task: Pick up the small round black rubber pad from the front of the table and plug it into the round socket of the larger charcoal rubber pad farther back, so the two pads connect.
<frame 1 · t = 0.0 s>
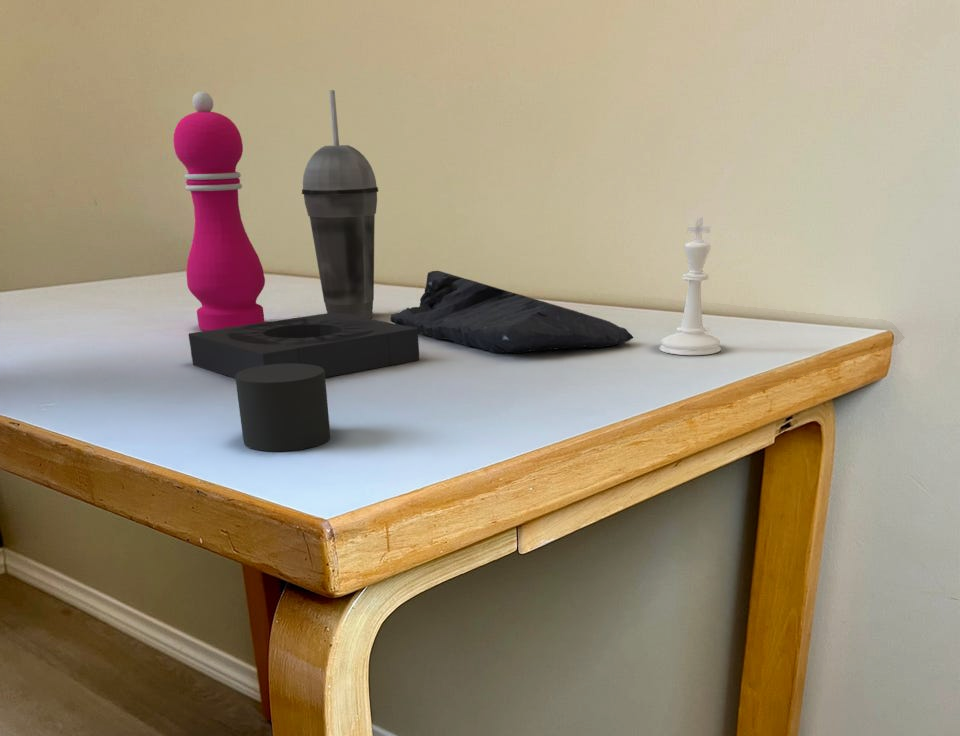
base pad: (306, 362, 81), on the table
connector pad: (287, 439, 61), on the table
beverage cup: (350, 319, 101), on the table
black fabric pouch: (505, 337, 90), on the table
chess piece: (689, 351, 83), on the table
pepper mill: (232, 329, 97), on the table
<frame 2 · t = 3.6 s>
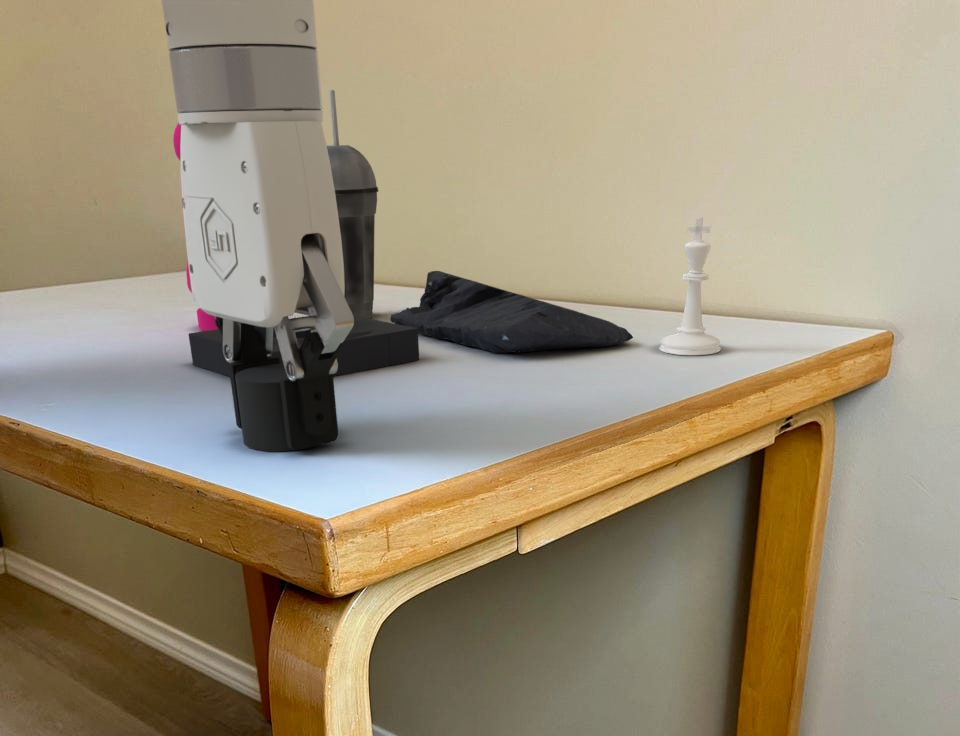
hand: (286, 431, 61), 0 cm above the table, tool pointing down, fingers closed on connector pad, 5 cm apart
connector pad: (287, 439, 61), on the table, touching gripper
everything else where it was.
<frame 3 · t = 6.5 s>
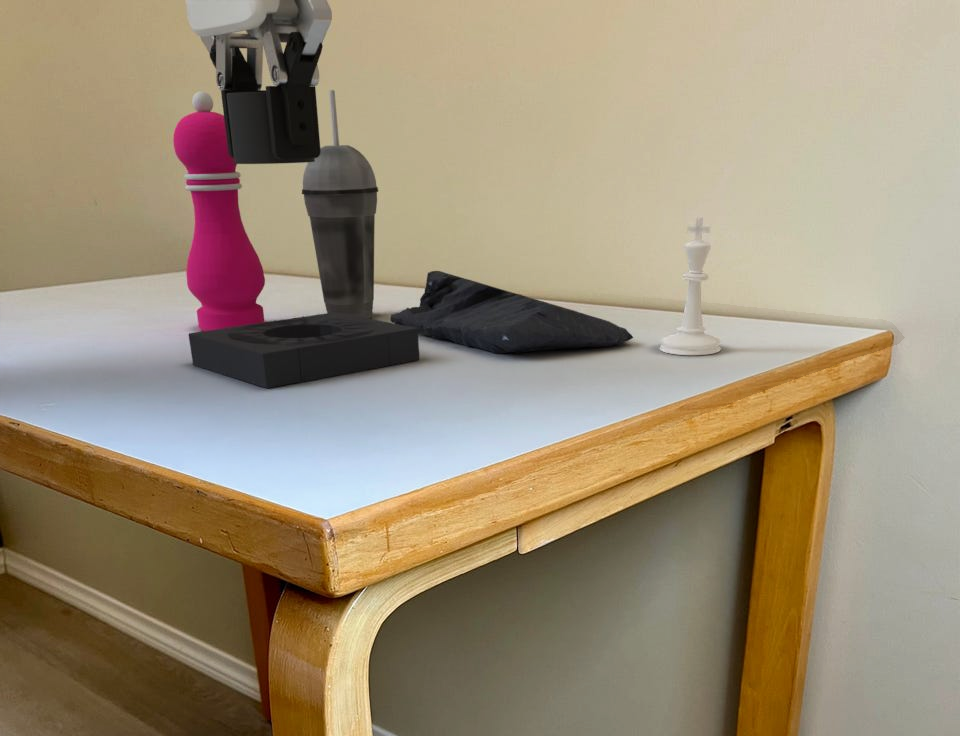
hand: (273, 154, 66), 15 cm above the table, tool pointing down, fingers closed on connector pad, 5 cm apart
connector pad: (274, 162, 66), point 15 cm above the table, touching gripper
everything else where it was.
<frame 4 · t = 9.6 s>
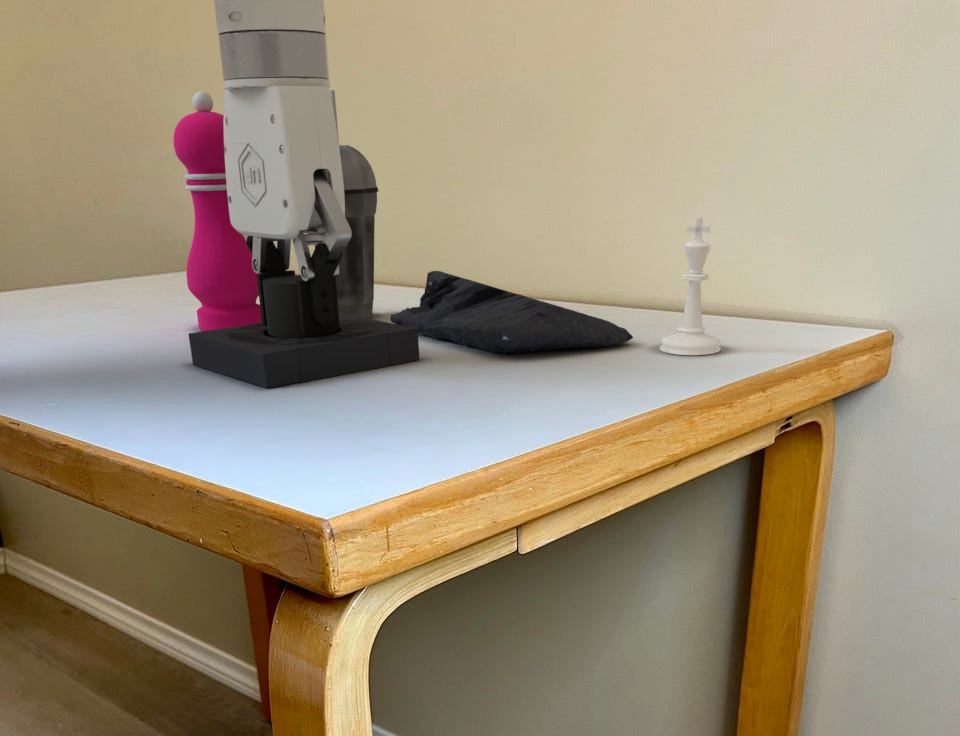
hand: (300, 326, 80), 3 cm above the table, tool pointing down, fingers closed on connector pad, 5 cm apart
connector pad: (301, 332, 80), point 2 cm above the table, touching gripper
everything else where it was.
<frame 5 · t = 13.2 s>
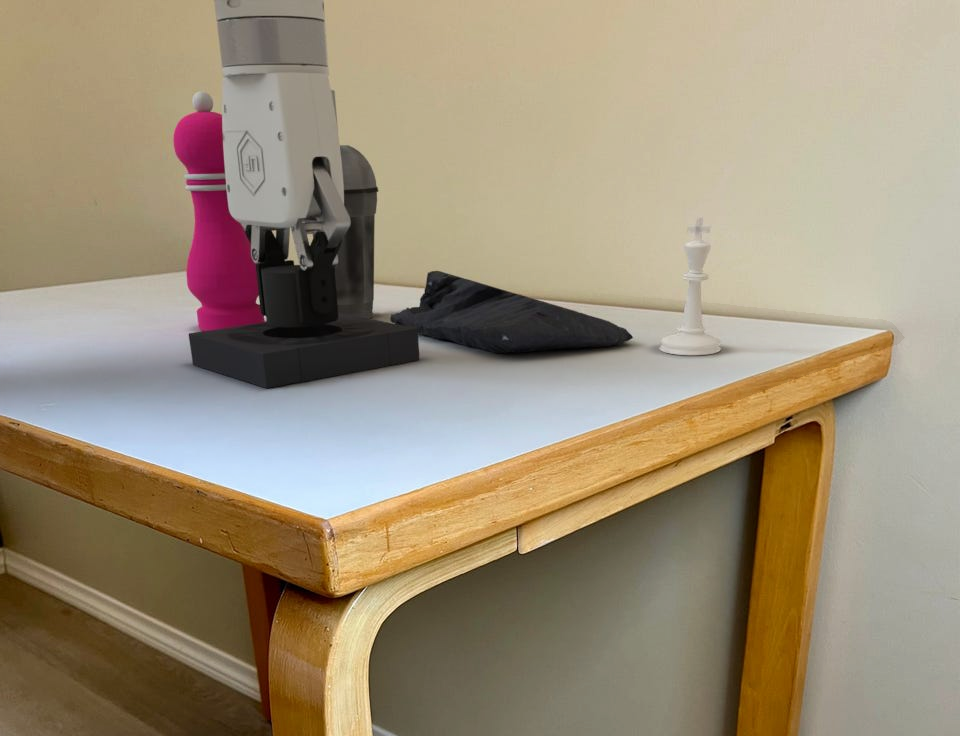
hand: (299, 316, 80), 4 cm above the table, tool pointing down, fingers closed on connector pad, 5 cm apart
connector pad: (300, 322, 80), point 3 cm above the table, touching gripper
everything else where it was.
when the fingers open (4 cm above the table, at t = 16.5 s): connector pad drops 3 cm, resting in base pad.
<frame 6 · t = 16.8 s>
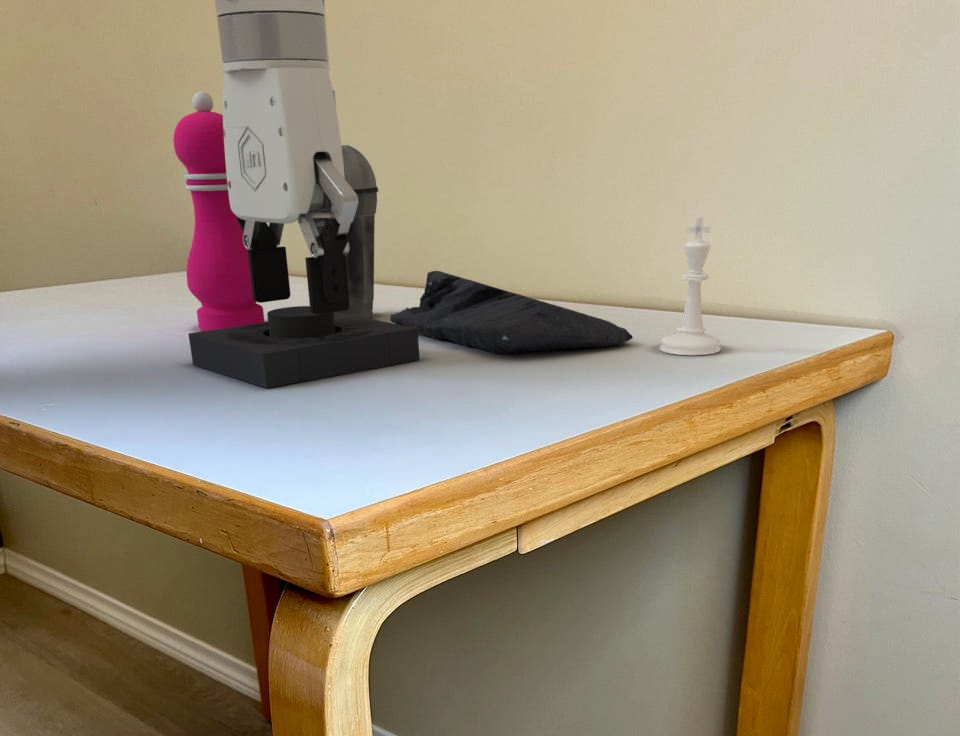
hand: (300, 304, 79), 4 cm above the table, tool pointing down, fingers open, 8 cm apart
connector pad: (305, 362, 81), resting in base pad
everything else where it was.
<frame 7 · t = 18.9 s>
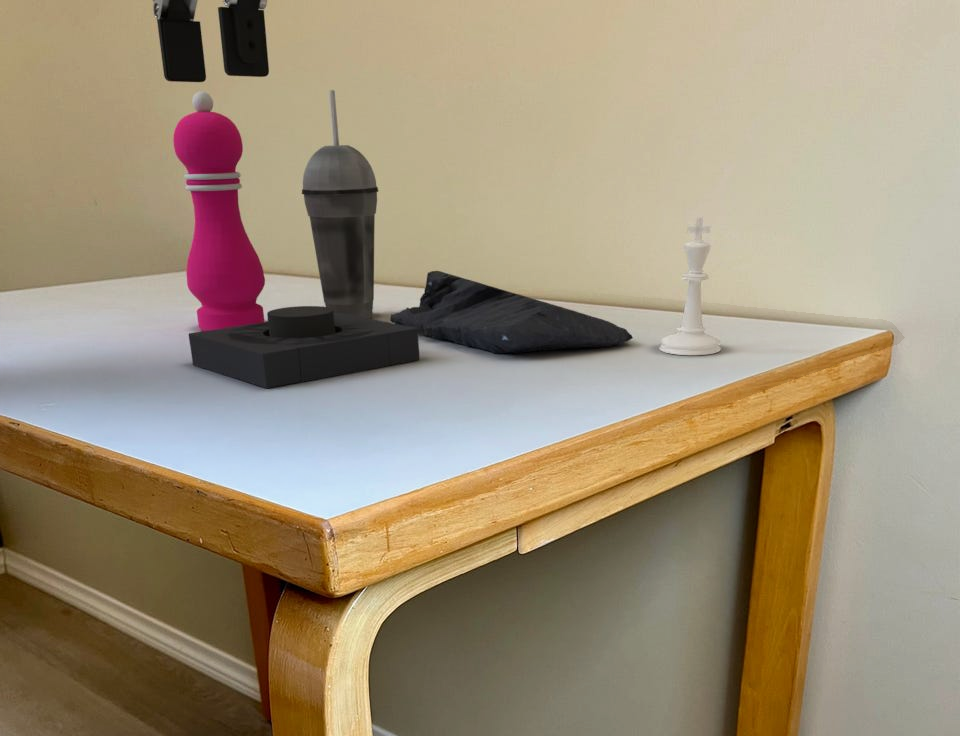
hand: (215, 78, 74), 20 cm above the table, tool pointing down, fingers open, 9 cm apart
nothing on the table moved.
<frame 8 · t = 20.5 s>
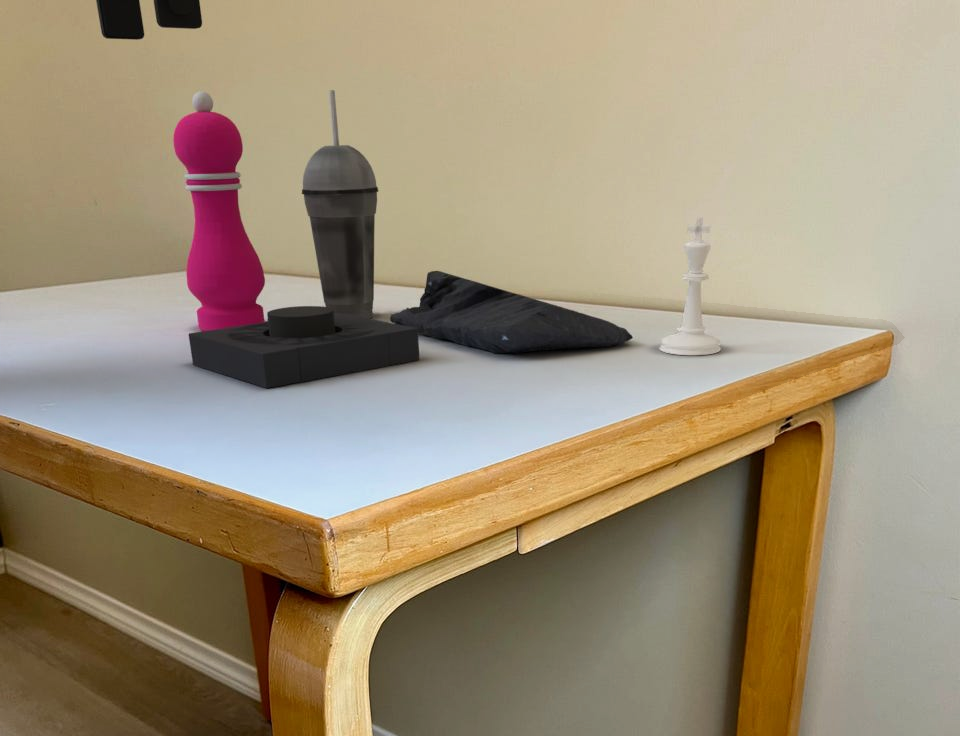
hand: (150, 33, 74), 23 cm above the table, tool pointing down, fingers open, 9 cm apart
nothing on the table moved.
at the end: connector pad 0.0 cm off-centre in the base pad, point 0.0 cm above the base pad's base; connector pad tilted 0° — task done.
